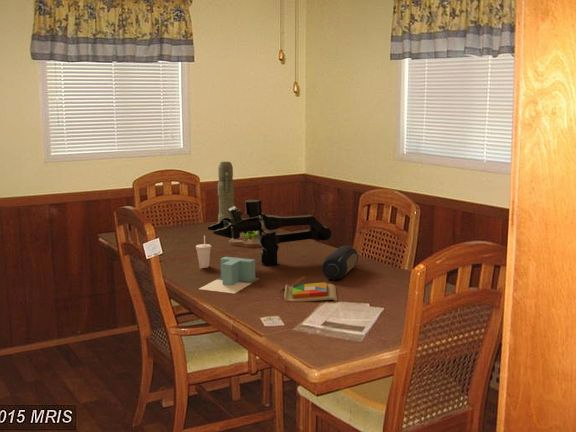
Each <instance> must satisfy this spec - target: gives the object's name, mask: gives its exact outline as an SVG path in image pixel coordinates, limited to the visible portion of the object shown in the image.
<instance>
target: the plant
mask: <svg viewBox="0 0 576 432" xmlns="http://www.w3.org/2000/svg"><path fill="white" fill-rule="evenodd" d="M257 235H258V234H257V231H252V232H247V233H246V234H244V233H241V234H240V237H239V238H238V239H233V238H232V239H231V238H229V240H228V245H229V246H231V247H241V248H247V249H254V248H255V249H256V248H258V249H260V248H261V245H260V244H258V243H257V240H256V237H257Z"/></svg>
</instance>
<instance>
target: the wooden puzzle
mask: <svg viewBox="0 0 576 432" xmlns="http://www.w3.org/2000/svg"><path fill="white" fill-rule="evenodd" d="M284 286H285V288H284V294H283V295H284V297H283V298H284V301H285V302H287V301H297V303H298V302H303V303H304V302H317V301H329V300H333V301H334V302H338V297H337V288H336V286H335V284H332V283H327V282H314V283H312V282H311V283H300V284H293V286H290V285H288V284H285V285H284Z"/></svg>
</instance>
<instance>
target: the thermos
mask: <svg viewBox="0 0 576 432" xmlns="http://www.w3.org/2000/svg"><path fill="white" fill-rule="evenodd" d="M233 170H234V168H233V164H232V162H230V161H220V162H219V165H218V169H217V172H218V173H217V174H218V181H217V182H218V183H217V196H218V215H217V223H218V222H219V221H220V220H221V218H222V217H228V218H229V219H232V218H231V215H230V213H229V212H228V209H229V208H231V207H233V206H235V204H234V203H235V201H234V197H235V183H234V179H233V178H234V177H233V176H234V171H233ZM230 221H231V220H230Z"/></svg>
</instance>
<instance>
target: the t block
mask: <svg viewBox="0 0 576 432" xmlns="http://www.w3.org/2000/svg"><path fill="white" fill-rule="evenodd" d="M219 263H220V277H221V279H222V284H223V285H231V286H232V285H234V284H236V283H238V282H239V281H245V282H252V281H254V280H255V278H256V259H255V258H254V259H252V258H245V257H244V258H243V257H233V256H224V257H221V258H220V261H219Z"/></svg>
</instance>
